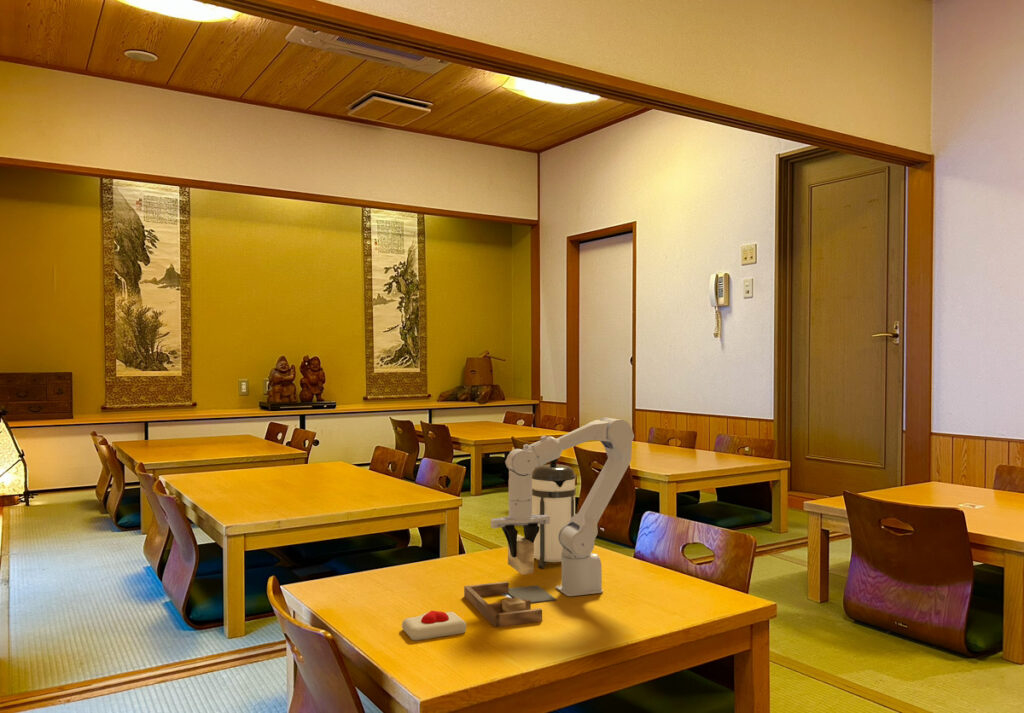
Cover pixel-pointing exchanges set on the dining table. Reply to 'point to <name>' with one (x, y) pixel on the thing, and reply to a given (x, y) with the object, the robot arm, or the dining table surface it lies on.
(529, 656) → the dining table surface
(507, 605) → the offcut upper
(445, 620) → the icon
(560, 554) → the coffee press
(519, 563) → the tan wooden block
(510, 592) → the mat
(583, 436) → the robot arm
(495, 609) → the rack
